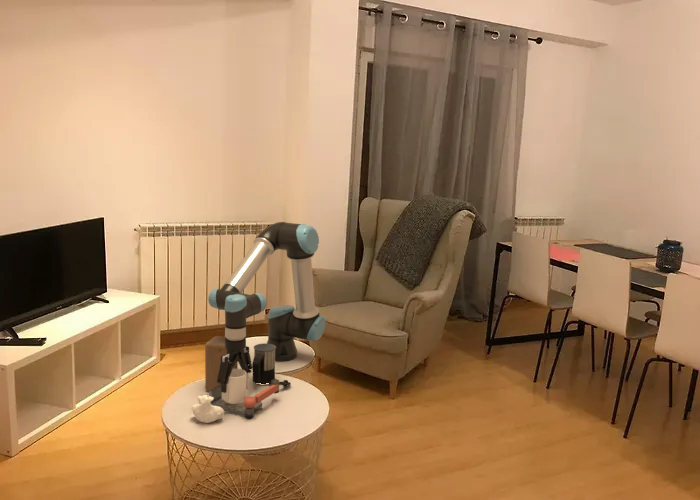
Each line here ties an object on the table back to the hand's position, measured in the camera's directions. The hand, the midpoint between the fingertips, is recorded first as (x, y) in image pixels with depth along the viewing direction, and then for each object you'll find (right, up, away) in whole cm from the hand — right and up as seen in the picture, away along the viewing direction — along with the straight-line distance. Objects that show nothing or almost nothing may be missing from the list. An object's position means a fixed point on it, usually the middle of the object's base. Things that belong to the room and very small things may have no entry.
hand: (235, 394), depth 216 cm
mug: (0, -1, +1) cm, 2 cm away
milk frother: (+11, -1, +22) cm, 25 cm away
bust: (-8, -7, -11) cm, 15 cm away
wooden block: (-9, -2, +16) cm, 18 cm away
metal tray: (+1, -5, 0) cm, 5 cm away
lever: (+10, -3, 0) cm, 11 cm away
